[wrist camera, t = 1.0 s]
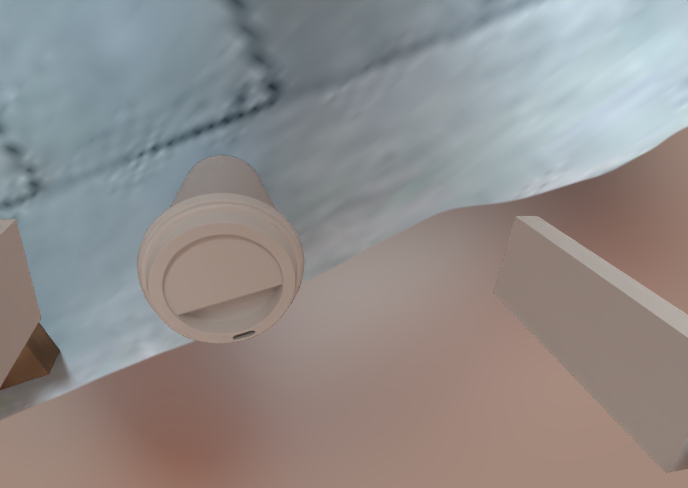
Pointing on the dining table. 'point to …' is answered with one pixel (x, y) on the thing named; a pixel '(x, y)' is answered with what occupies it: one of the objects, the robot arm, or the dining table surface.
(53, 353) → the build board
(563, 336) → the robot arm
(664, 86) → the dining table surface
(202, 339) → the coffee cup
